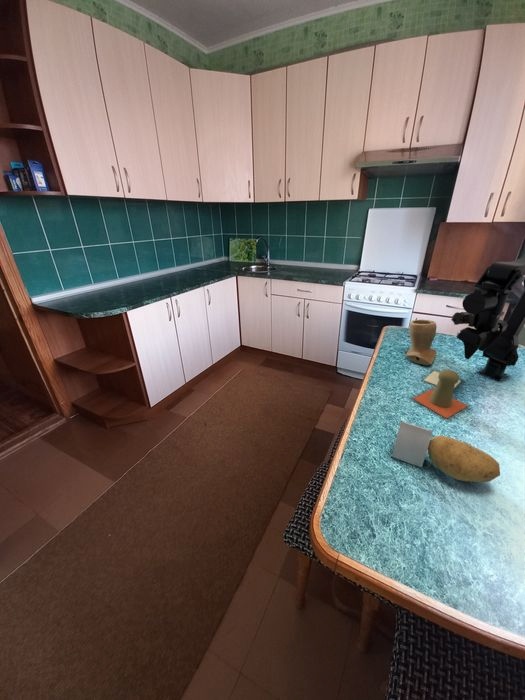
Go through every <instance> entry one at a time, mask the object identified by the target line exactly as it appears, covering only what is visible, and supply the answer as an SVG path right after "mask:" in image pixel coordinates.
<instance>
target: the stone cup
mask: <svg viewBox="0 0 525 700" xmlns="http://www.w3.org/2000/svg"><path fill="white" fill-rule="evenodd" d="M408 333H409V339H410V347H409V349H408V350H407V352H406V354H405V358H407V359H408V360H410V361H412V362H413V363H415V364H418V365H424V366H429V365H432V364H433V362H434V360H435V358H436V356H437V352H438V351H437V350H436V349H434V348H431V347H432V344H433V342H434V339H435V337H436V335H437V334H436V333H437V323H436V321H434V320H431V319H414V320H411V321H410V322H409V328H408Z"/></svg>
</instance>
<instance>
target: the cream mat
mask: <svg viewBox="0 0 525 700" xmlns="http://www.w3.org/2000/svg"><path fill="white" fill-rule="evenodd" d="M439 373H440V371H436V370H434V371H432V372H431V373H430V374H429V375H427V376H426V377H425V378H424V379H423V382H425V383H427V384H430V385H433V386H436V385H437V383H438V381H439V378H438V376H439ZM461 382H462V380H460V379H459V380H458V382H457V383H456V384H455V385H454V390H455V388H457V387H458V385H460V383H461Z"/></svg>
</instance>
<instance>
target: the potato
mask: <svg viewBox="0 0 525 700" xmlns="http://www.w3.org/2000/svg"><path fill="white" fill-rule="evenodd" d="M427 454H428V456H429V459H430V460H431V462H432V463H433V464H434V466H435V467H436V468H437V469H439V471H441V472H442V473H444V474H446V475H447V476H449V477H451V478H453V479H454V480H458V481H462V482H473V483H475V482H476V483H487V482H489V483H490V482H492V481H493V480H495V479H496V478H498V477H500V476H501V470H500V469H501V468H500V463H499V462H498V461H497V460H496V459H495V458H494V457H493V456H492V455H490V454H489V453H486V452H485V451H483V450H481V449H479V448H478V447H476V446H473V445H471V444H469V443H467V442H464V441H462V440H459V439H455V438H453V437H450V436H445V435H441V434H440V435H435V436H434V437H433V438H432V437H431V439H430V443H429V447H428V450H427Z"/></svg>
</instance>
